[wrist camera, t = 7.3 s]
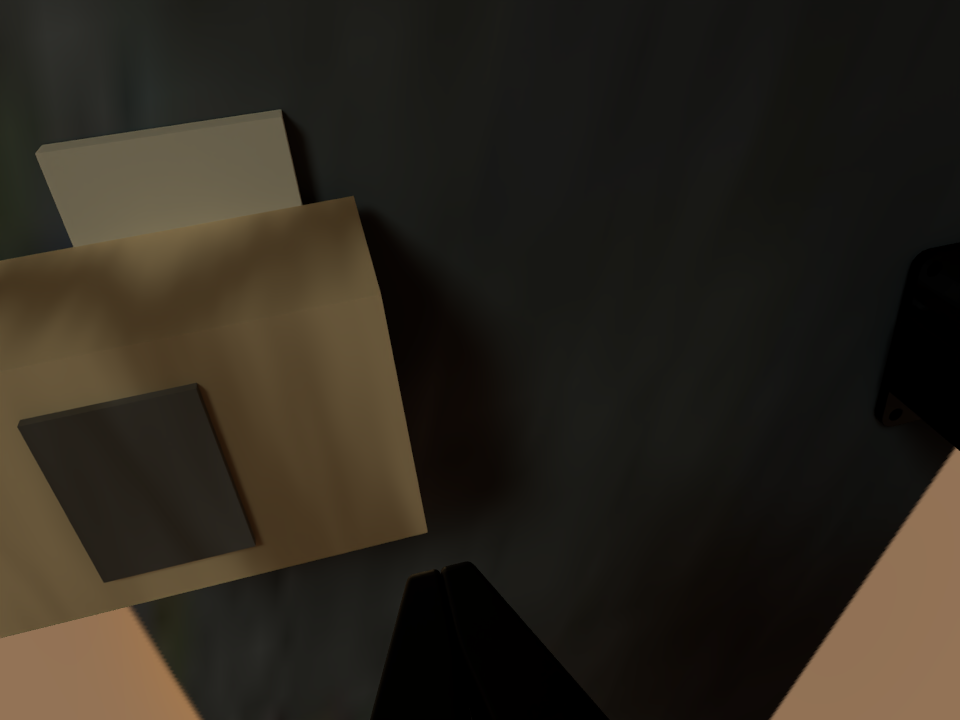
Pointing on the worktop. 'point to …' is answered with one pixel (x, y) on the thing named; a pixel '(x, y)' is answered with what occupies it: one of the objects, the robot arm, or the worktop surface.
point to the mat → (170, 176)
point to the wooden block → (195, 412)
